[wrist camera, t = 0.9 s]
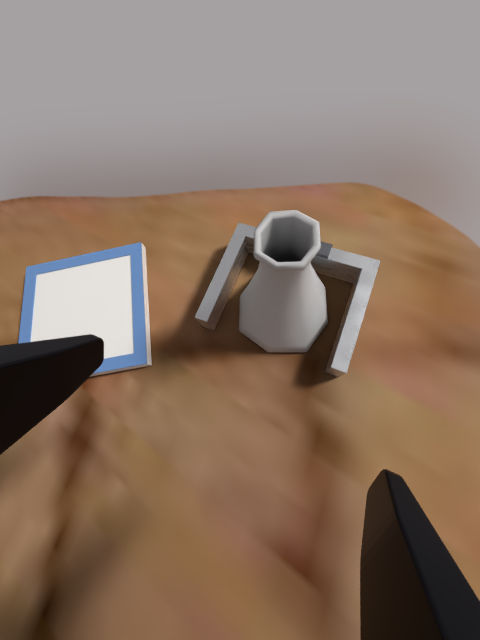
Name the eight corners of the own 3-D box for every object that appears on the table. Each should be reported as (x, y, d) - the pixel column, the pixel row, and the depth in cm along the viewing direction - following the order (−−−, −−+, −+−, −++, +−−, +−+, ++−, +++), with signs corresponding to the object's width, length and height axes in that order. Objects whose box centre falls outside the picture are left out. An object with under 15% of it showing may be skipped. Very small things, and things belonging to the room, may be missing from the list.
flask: (224, 338, 22) (186, 285, 13) (254, 261, 24) (239, 164, 15) (314, 368, 21) (347, 332, 11) (339, 282, 22) (384, 190, 13)
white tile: (23, 388, 23) (13, 388, 22) (34, 271, 26) (26, 266, 26) (151, 365, 22) (146, 363, 21) (145, 247, 26) (140, 242, 25)
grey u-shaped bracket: (338, 377, 20) (347, 372, 17) (203, 326, 23) (193, 315, 20) (369, 276, 22) (382, 257, 19) (242, 240, 25) (238, 219, 22)
